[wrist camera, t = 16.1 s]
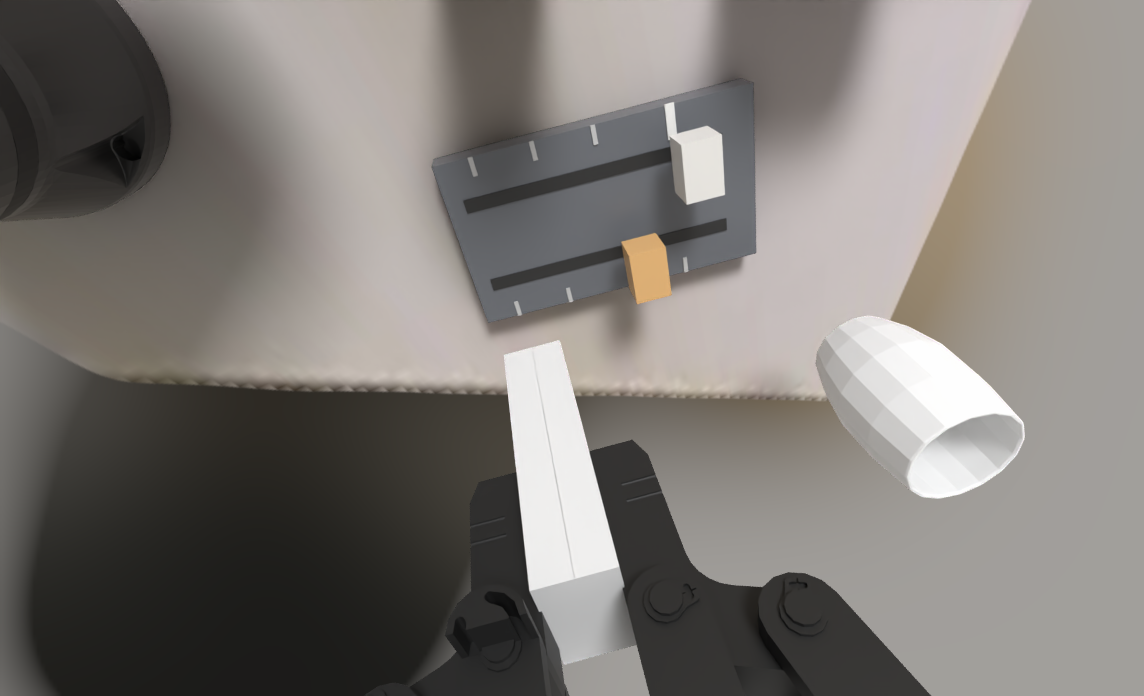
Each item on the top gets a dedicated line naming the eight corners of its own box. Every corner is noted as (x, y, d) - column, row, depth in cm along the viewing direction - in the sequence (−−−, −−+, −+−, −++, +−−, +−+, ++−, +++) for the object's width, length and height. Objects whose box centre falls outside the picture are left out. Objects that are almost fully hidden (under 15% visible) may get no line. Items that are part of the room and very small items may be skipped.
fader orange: (623, 275, 40) (637, 304, 36) (615, 231, 38) (629, 256, 34) (654, 267, 40) (671, 295, 36) (648, 222, 38) (665, 247, 34)
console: (488, 310, 42) (488, 324, 41) (433, 157, 36) (430, 166, 34) (745, 243, 42) (756, 255, 41) (740, 76, 35) (754, 81, 34)
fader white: (666, 183, 36) (686, 204, 33) (660, 129, 34) (681, 145, 31) (701, 174, 36) (724, 194, 33) (697, 119, 34) (722, 134, 31)
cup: (764, 331, 47) (923, 523, 30) (722, 279, 44) (875, 463, 27) (836, 278, 45) (1050, 452, 28) (798, 219, 42) (1016, 377, 25)
